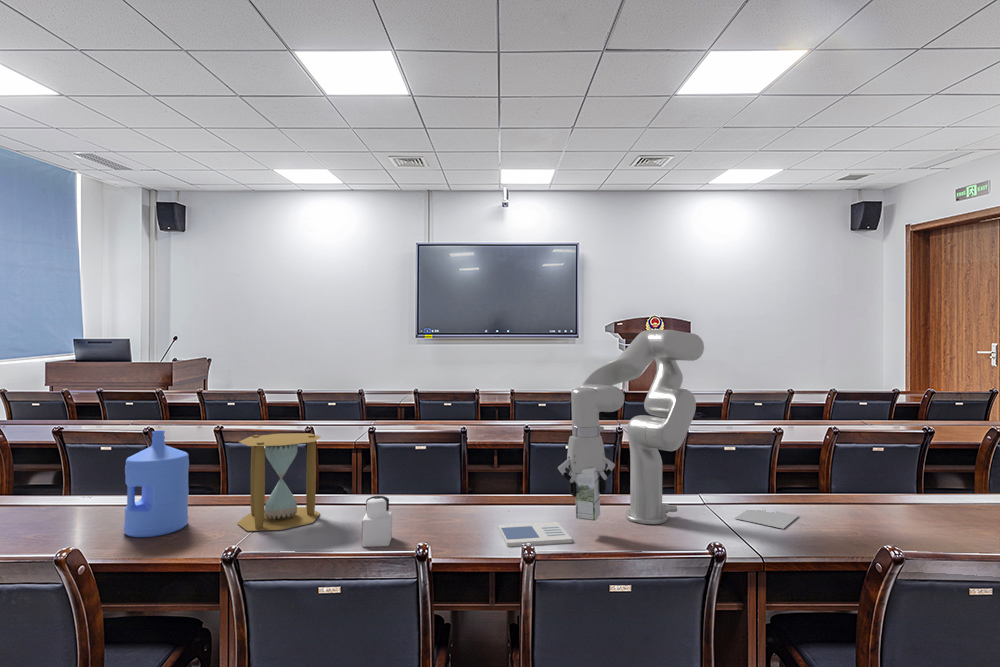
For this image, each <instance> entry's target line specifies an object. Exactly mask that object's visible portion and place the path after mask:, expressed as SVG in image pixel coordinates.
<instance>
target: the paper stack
mask: <svg viewBox="0 0 1000 667" xmlns="http://www.w3.org/2000/svg"><path fill="white" fill-rule="evenodd" d="M775 511H776V513H775V512H771V513H770V512H766V510H765V511H764V510H762V511H761V510H757V511H756V510H748V509H746V510H745V511H743V512H741V513H740V514H739V515H736V516H735V517H734V519H736V520H742V521H745V522H750V523H755V524H758V525H759V524H760V525H764V526H768V527H774V528H779V529H785V528H786V527H787V526H788V525H790V524H791V523H792V522H793V521H795V520H796V519H797V518H798V517H799V516H798V515H799V514H793V513H789V512H788V513H787V512H783V511H778V510H775Z"/></svg>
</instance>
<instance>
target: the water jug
mask: <svg viewBox="0 0 1000 667" xmlns="http://www.w3.org/2000/svg"><path fill="white" fill-rule="evenodd" d="M165 432H166V430H154V431H151V434H152V437H151V445H150V446H149V447H147V448H145V449H142V450H140V451H139V452H137V453H134V454H133V455H131V456H128V457H127V458H126V460H125V467H124V474H125V475H124V476H125V480H124V481H125V485H126V486H127V488H126V489H127V490H126V493H127V496H126V506H125V507H124V524H123V532H124V534H125V535H126V536H128V537H132V538H152V537H159V536H164V535H168V534H171V533H175V532H177V531H180V530H182V529H184V528H185V527H186V526H187V525H188V523H189V515H188V514H189V512H188V509H189V507H188V506H189V494H190V493H189V492H190V491H189V490H190V488H189V467H190V458H189V453H188V452H186V451H184V450H180V449H178V448H175V447H172V446H170V445H166V444H165V439H166V438H165V437H166V436H165ZM136 487H141V498H140V499H139V500H138V501H136V502H135V500H136V495H135V494H136Z"/></svg>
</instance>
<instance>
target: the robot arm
mask: <svg viewBox="0 0 1000 667" xmlns="http://www.w3.org/2000/svg"><path fill="white" fill-rule="evenodd" d="M704 351H705V344H704V341H703V339H702V338H701V336H699V335H698V334H696V333H691V332H685V331H680V330H674V329H646V330H643V331H640V332H639V333H638V334H637V336H635V338H634V339H633V340H632V341H631V342H630V344H628V346H627V347H626V348H625V349H624V351H622V353H621V354H620V355H619V356H617V357H616V358H615V359H613V360H610V361H609V362H607V363H606V364H603V365H602V366H600V367H598V368H596V369H595V370H594V371H593V372H591V374H589V376H587V377H586V378H585V379H584V381H583V382H582V383H581V385H580V386H579V387H576V388H573V389H572V390H571V399H570V400H571V427H572V431H571V432H572V435H570V436H569V438H568V444H567V454H566V457H567V458H566V460H564V462H562V463H561V464H560V465H558V466H557V470H558V471H559V472H560V473H561V475H562V476H563V477H564V478H565V479H567V481H568V491H569V494H570V495H571V496H572V497H573V498H575V497H576V483H575V478H576V476H577V475H578V474H579V473H582V470H584V469H586V468H593V467H595V468H596V472H599V494H601V495H605V491H606V489H607V485H606V482H607V479H608V477H609V476H610V474H611V473H612V471H613V470H614V468H615V467H616V464H615V463H614V462H613V461H611V460H610V459H608V458H607V457H606V454H605V446H604V441H603V438H602V435H601V432H604V431H605V427H604V426H601V425H600V413H601V412H604V413H613V412H616V411H618V410H620V409H621V408H622V407H623V405H624V403H625V395H624V392H623V391H622V389H620V387H617V386H615V385H619V384H621V383H624V382H630V381H632V380H636V379H638V378H639V377H641V376H642V375H643V373H644V372H646V369H648V367H649V366H650V365H651V363H652V362H653V361H654V360H655V364H656V373H655V376H654V378H653V381H652V383H651V385H650V387H649V389H648V392H647V394H646V397H645V399H644V402H643V406H644V410H645V412H646V413H648V414H649V415H645V414H644V415H642V414H640V415H635V416H633V417H632V418H630V420H629V421H628V423H627V425H626V426H627V429H626V435H627V439H628V445H629V452H630V453H629V455H630V460H629V461H630V468H629V469H630V478H629V479H630V482H629V483H630V486H629V489H630V494H629V495H630V497H629V498H630V506H629V507H630V509H628V510H626V511H625V514H624V516H625V518H626V520H629V521H630V522H634V523H638V524H644V525H659V524H664V523H667V521H668V515H667V514H668V513H677V512H678V506H677V505H670V504H668V503H666V504H665V503H663V460H662V456H661V454H660V452H659V450H660V451H667V452H674V451H677V450H678V449H680V447H681V446H682V444H683V443H684V440H685V438H686V436H687V434H688V432H689V428H690V427H691V424H692V421H693V419H694V416H695V413H696V410H697V409H696V408H697V406H696V405H697V402H696V397H695V395H694V394H693V392H692V391H690V390H688V389H685V388H681V386H682V384H683V381H684V380H683V377H684V376H683V372H682V370H681V368H680V367H679V364H678V362H677V361H683V362H684V361H688V362H691V361H692V362H693V361H697V360H699V359H701V357H702V355H703V354H704ZM606 464H607V467H606ZM566 468H567V470H569V473H568V472H567V471H566Z"/></svg>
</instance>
